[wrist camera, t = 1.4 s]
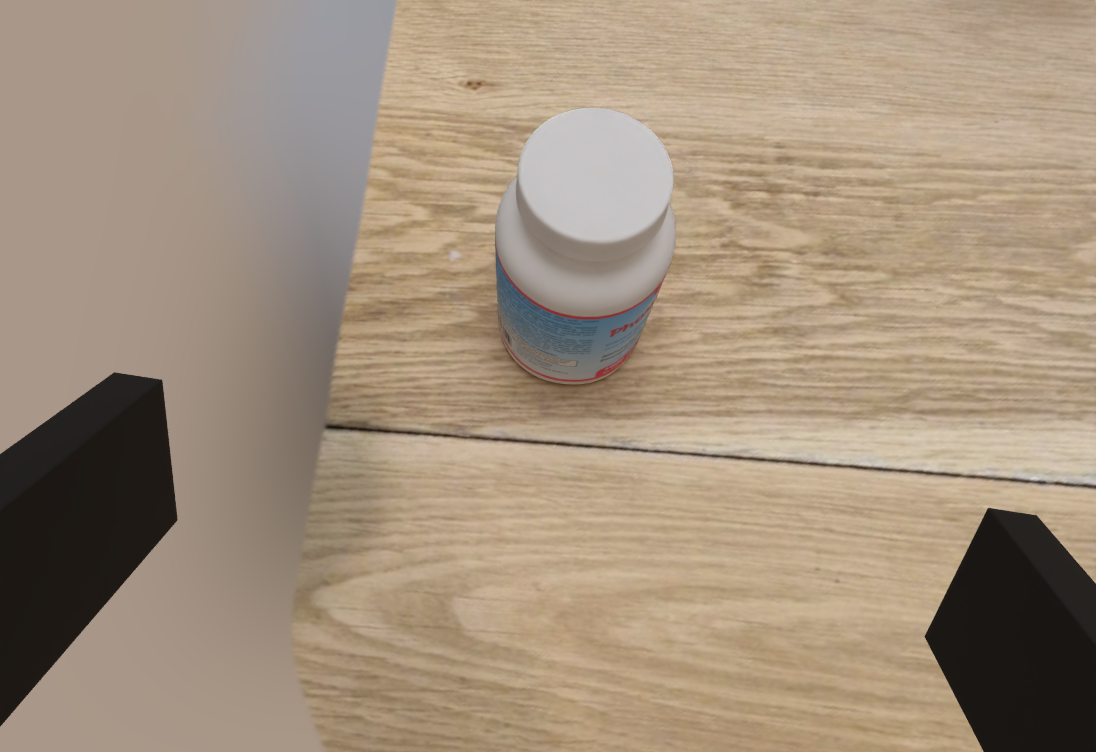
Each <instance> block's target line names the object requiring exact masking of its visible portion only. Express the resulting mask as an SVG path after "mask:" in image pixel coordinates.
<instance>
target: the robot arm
mask: <svg viewBox="0 0 1096 752" xmlns="http://www.w3.org/2000/svg"><path fill="white" fill-rule="evenodd" d="M176 521H177V512H176V502H175V493H174V484H173V474H172V466H171V456H170V447H169V438H168V429H167V420H166V410H165V401H164V392H163V383H162V380H159V379H153V378H147V377H140V376H134V375H127V374H121V373H113V374H112V375H110V376H109V377H107V378H106V379H105V380H103V381H102V382H100V383H99V384H98V385H96V386H95V387H93V388H92V389H91V390H89V391H88V392H86V393H85V394H84V395H82V396H81V397H79V398H78V399H77V400H75V401H74V402H72V403H71V404H70V405H68V406H67V407H66V408H64V409H63V410H61V411H60V412H58V413H57V414H56V415H55V416H53V417H52V418H50V419H49V420H47V421H46V422H45V423H43V424H42V425H40V426H39V427H38V428H36V429H35V430H33V431H32V432H31V433H29V434H28V435H26V436H25V437H24V438H22V439H21V440H20V441H18V442H17V443H15V444H14V445H12V446H11V447H10V448H8V449H7V450H5V451H4V452H3V453H1V454H0V726H1V725H2V724H3V723H4V722H5V720H6V719H7V718H8V717H9V716H10V715H11V713H12V712H13V711H14V710H15V709H16V708H17V706H18V705H19V704H20V703H21V702H22V701H23V699H24V698H25V697H26V696H27V695H28V694H29V692H30V691H31V690H32V689H33V688H34V687H35V685H36V684H37V683H38V682H39V680H41V678H42V677H43V676H44V675H45V674H46V673H47V672H48V670H49V669H50V668H51V667H52V666H53V665H54V663H55V662H56V661H57V660H58V659H59V658H60V656H61V655H62V654H63V653H64V652H65V651H66V649H67V648H68V647H69V646H70V645H71V644H72V642H73V641H74V640H75V639H76V637H78V635H79V634H80V633H81V632H82V630H84V628H85V627H86V626H87V625H88V624H89V623H90V621H91V620H92V619H93V618H94V617H95V616H96V614H97V613H98V612H99V611H100V610H101V609H102V607H103V606H104V605H105V604H106V603H107V602H108V600H109V599H110V598H111V597H112V596H113V595H114V593H115V592H116V591H117V590H118V589H119V588H120V586H121V585H122V584H123V583H124V582H125V581H126V579H127V578H128V577H129V576H130V575H131V574H132V572H133V571H134V570H135V569H136V568H137V567H138V565H139V564H140V563H141V562H142V561H143V560H144V559H145V557H146V556H147V555H148V554H149V553H150V552H151V550H152V549H153V548H154V547H155V546H156V544H157V543H158V542H159V541H160V540H161V539H162V538H163V536H164V535H165V534H166V533H167V532H168V531H169V529H170V528H171V527H172V526H173V525H174V523H175V522H176ZM925 638H926V640H927V642H928V644H929V646H930V648H931V650H932V652H933V654H934V656H935V658H936V660H937V662H938V664H939V666H940V668H941V669H942V671H943V673H944V675H945V677H946V679H947V681H948V683H949V685H950V687H951V689H952V691H953V693H954V695H955V697H956V699H957V701H958V703H959V704H960V706H961V708H962V710H963V712H964V714H965V716H966V718H967V720H968V722H969V724H970V726H971V728H972V730H973V732H974V734H975V736H976V738H977V739H978V741H979V743H980V745H981V747H982V749H983V751H984V752H1096V583H1095V582H1094V581H1093V580H1092V579H1091V578H1090V577H1089V575H1088V574H1087V573H1086V572H1085V571H1084V570H1083V568H1082V567H1081V566H1080V565H1079V564H1078V563H1077V562H1076V560H1075V559H1074V558H1073V557H1072V556H1071V555H1070V553H1069V552H1068V551H1067V550H1066V549H1065V548H1064V546H1063V545H1062V544H1061V543H1060V542H1059V541H1058V540H1057V538H1056V537H1055V536H1054V535H1053V534H1052V533H1051V531H1050V530H1049V529H1048V528H1047V527H1046V526H1045V525H1044V523H1043V522H1042V521H1041V520H1040V519H1039V518H1038V516H1037V515H1030V514H1024V513H1017V512H1011V511H1005V510H998V509H992V508H988V509H987V511H986V513H985V515H984V517H983V519H982V521H981V523H980V525H979V527H978V530H977V532H976V534H975V536H974V538H973V540H972V542H971V544H970V546H969V548H968V550H967V552H966V554H965V556H964V558H963V560H962V562H961V564H960V566H959V568H958V570H957V572H956V574H955V576H954V578H953V580H952V582H951V584H950V586H949V588H948V590H947V592H946V594H945V596H944V598H943V600H942V602H941V605H940V607H939V609H938V611H937V613H936V615H935V617H934V619H933V621H932V623H931V625H930V627H929V629H928V631H927V633H926V635H925Z"/></svg>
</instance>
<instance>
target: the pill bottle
mask: <svg viewBox="0 0 1096 752" xmlns="http://www.w3.org/2000/svg"><path fill="white" fill-rule="evenodd" d="M673 178H674V175H673V168H672V164H671V160H670V158H669V155H668V152H667V150H666V149H665V147H664V145H663V144H662V142H661V141H660V139H659V138H658V137H657V136H656V135H655V134H654V133H653V132H652V131H651V130H650V129H649V128H648V127H647V126H645V125H644V124H642V123H641V122H639V121H638V120H636V119H634V118H632V117H630V116H628V115H626V114H624V113H621V112H618V111H614V110H610V109H604V108H579V109H574V110H570V111H566V112H563V113H560V114H558V115H555V116H554V117H552V118H550V119H549V120H547V121H546V122H544V123H543V124H542V125H540V126H539V127H538V128H537V129H536V130H535V131H534V132H533V133H532V135H531V136H530V137H529V138H528V140H527V142H526V144H525V145H524V148H523V150H522V152H521V155H520V159H519V164H518V173H517V176H516V177H515V178H514V179H513V181H512V182H511V183H510V184H509V186H508V188H507V189H506V191H505V193H504V195H503V197H502V199H501V202H500V205H499V208H498V211H497V216H496V225H495V248H496V275H497V301H498V321H499V328H500V333H501V336H502V339H503V342H504V344H505V346H506V348H507V350H508V352H509V353H510V355H511V356H512V357H513V359H514V360H515V361H516V362H517V363H518V364H519V365H520V366H521V367H522V368H524V369H525V370H526V371H528V372H529V373H531V374H533V375H534V376H536V377H539V378H541V379H544V380H547V381H550V382H555V383H561V384H585V383H591V382H594V381H597V380H600V379H603V378H605V377H607V376H609V375H610V374H612V373H613V372H615V371H616V370H617V369H618V368H619V367H621V366H622V365H623V364H624V363H625V361H626V360H627V359H628V358H629V356H630V355H631V353H632V351H633V350H634V348H635V346H636V344H637V341H638V339H639V337H640V334H641V332H642V330H643V327H644V325H645V323H646V320H647V318H648V316H649V313H650V311H651V308H652V306H653V304H654V301H655V299H656V297H657V295H658V292H659V290H660V288H661V285H662V283H663V280H664V278H665V276H666V273H667V271H668V269H669V266H670V263H671V260H672V257H673V253H674V249H675V242H676V225H675V218H674V214H673V210H672V207H671V205H670V199H671V195H672V191H673Z"/></svg>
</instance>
